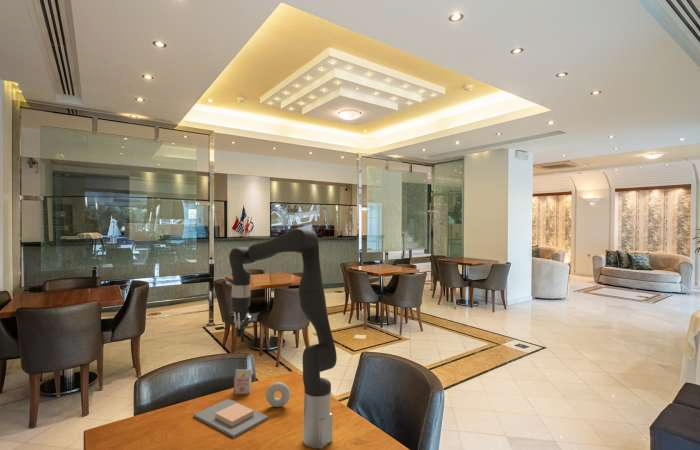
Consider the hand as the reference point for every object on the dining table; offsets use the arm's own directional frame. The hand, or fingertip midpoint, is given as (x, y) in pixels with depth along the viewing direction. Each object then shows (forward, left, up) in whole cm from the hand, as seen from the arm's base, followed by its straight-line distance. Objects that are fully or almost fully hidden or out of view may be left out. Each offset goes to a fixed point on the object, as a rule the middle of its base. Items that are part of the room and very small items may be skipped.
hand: (239, 336), depth 152 cm
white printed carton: (+7, -8, -28) cm, 30 cm away
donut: (-15, -8, -28) cm, 33 cm away
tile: (-9, +9, -26) cm, 29 cm away
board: (-7, +9, -28) cm, 30 cm away
